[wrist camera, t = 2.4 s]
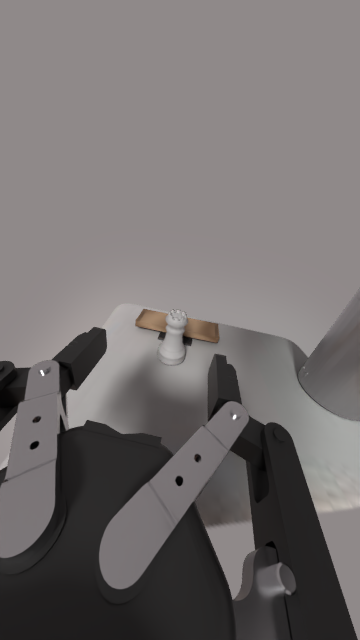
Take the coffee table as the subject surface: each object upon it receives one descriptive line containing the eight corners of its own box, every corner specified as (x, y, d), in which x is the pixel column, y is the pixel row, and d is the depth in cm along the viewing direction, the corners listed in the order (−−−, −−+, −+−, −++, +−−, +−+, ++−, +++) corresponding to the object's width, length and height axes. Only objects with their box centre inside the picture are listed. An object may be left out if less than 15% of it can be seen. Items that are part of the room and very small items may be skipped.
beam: (216, 328, 36) (218, 323, 35) (217, 342, 32) (219, 337, 31) (143, 314, 36) (143, 308, 36) (135, 326, 32) (135, 320, 32)
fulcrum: (193, 325, 37) (194, 322, 37) (191, 346, 31) (191, 343, 31) (165, 319, 37) (166, 316, 37) (157, 339, 32) (158, 336, 31)
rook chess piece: (152, 361, 27) (156, 317, 23) (162, 344, 31) (167, 303, 27) (180, 371, 26) (189, 326, 22) (187, 352, 30) (196, 311, 26)
